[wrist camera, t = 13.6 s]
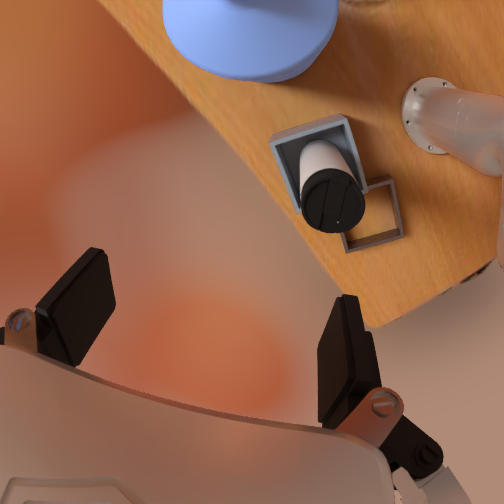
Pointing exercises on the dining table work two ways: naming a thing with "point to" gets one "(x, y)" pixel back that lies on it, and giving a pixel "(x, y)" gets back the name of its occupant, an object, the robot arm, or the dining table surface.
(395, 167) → the dining table surface
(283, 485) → the robot arm
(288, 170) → the grey bin
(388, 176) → the metal collar
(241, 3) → the water jug
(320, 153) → the travel mug
